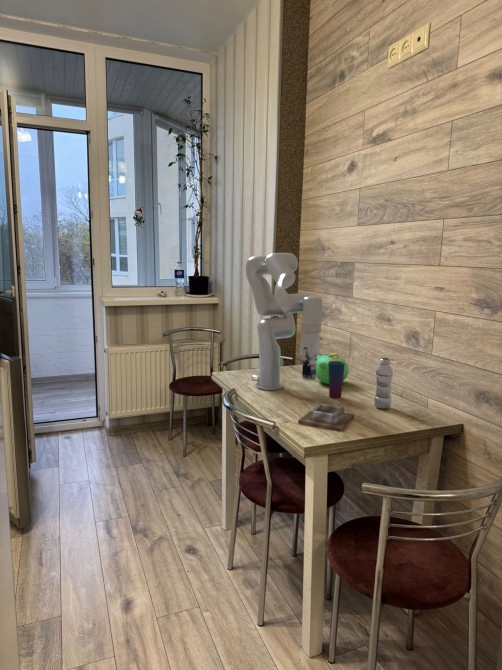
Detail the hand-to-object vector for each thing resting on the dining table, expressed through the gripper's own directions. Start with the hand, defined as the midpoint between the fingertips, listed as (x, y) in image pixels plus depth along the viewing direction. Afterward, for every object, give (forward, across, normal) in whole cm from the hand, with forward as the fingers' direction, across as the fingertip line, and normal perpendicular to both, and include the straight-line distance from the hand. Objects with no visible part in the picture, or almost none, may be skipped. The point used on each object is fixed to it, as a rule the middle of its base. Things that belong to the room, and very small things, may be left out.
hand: (309, 372), depth 186 cm
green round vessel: (+15, -36, -3) cm, 39 cm away
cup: (+14, -17, +6) cm, 23 cm away
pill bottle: (+3, 0, 0) cm, 3 cm away
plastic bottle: (+14, -12, +27) cm, 33 cm away
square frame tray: (+13, +12, +12) cm, 21 cm away
